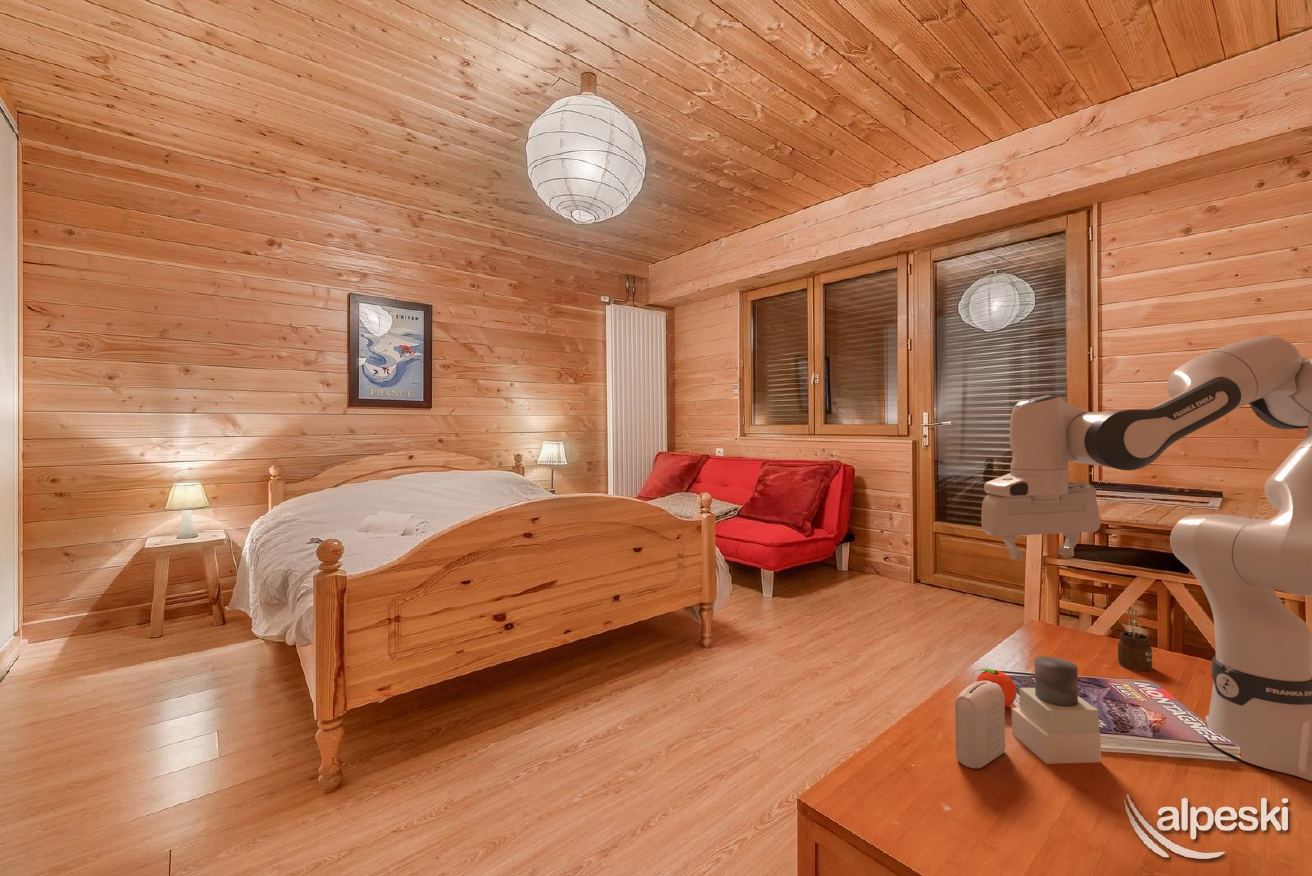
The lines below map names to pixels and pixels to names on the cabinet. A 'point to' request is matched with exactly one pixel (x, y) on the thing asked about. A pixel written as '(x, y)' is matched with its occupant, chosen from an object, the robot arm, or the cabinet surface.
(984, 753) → the photo printer
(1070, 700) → the charcoal cylinder
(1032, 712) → the tower top block
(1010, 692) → the clementine
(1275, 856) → the cabinet surface
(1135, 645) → the utensil holder
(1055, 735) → the tower bottom block
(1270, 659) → the robot arm
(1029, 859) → the cabinet surface
